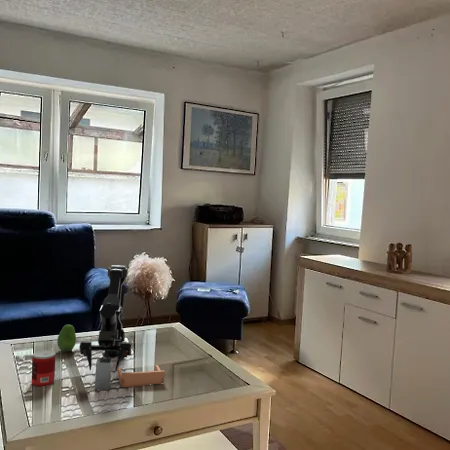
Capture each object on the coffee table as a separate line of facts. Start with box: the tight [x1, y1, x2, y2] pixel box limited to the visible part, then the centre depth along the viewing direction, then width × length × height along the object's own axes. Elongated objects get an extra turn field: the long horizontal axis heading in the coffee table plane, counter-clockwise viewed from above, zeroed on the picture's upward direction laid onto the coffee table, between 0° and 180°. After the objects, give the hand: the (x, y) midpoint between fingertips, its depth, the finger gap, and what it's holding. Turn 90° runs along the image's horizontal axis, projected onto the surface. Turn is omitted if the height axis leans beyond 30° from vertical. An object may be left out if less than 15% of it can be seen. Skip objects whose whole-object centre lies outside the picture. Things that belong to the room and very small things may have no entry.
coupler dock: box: [116, 364, 166, 388], centre depth 181 cm, size 12×16×5 cm
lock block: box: [94, 357, 113, 391], centre depth 172 cm, size 5×5×10 cm
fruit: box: [57, 324, 77, 353], centre depth 206 cm, size 8×8×12 cm
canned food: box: [31, 349, 57, 387], centre depth 172 cm, size 8×8×11 cm
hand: (103, 370), depth 170 cm, fingers open, 9 cm apart
